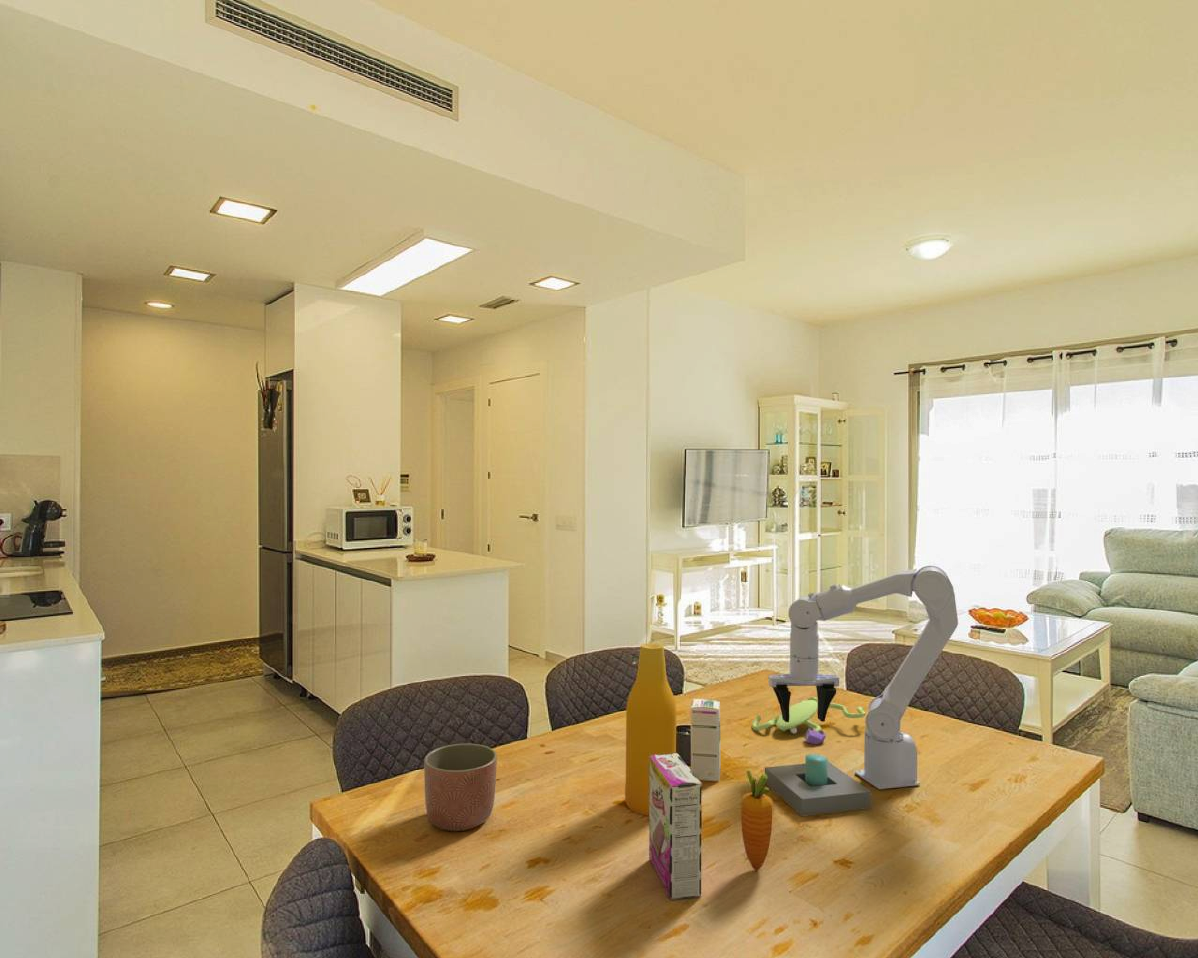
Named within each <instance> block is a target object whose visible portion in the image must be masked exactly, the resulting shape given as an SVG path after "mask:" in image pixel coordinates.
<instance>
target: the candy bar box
mask: <svg viewBox="0 0 1198 958" xmlns="http://www.w3.org/2000/svg"><path fill="white" fill-rule="evenodd" d="M649 762H650V763H649V803H650V808H649V809H650V812H649V817H648V818H649V823H648V825H649V827H648V829H649V833H648V835H649V845H648V846H649V847H648V849H649V850H648V851H649V852H648V853H649V855H648V859H649V861H650V863H651V864H652V867H653V868H654V870H655V872H656V874H657V876H658V877H659V879H660V882H661V883H662V885H663V887H664V890H665V891H666V893H667V895H668V898H669V899H670V901H675V900H682V899H683V900H685V899H690V898H698V897H700V898H701V897H702V795H703V794H702V793H703V792H702V790H703V789H702V787H703V783H702V782H701V780H698V778H697V777H696V776H695V775H694V773H693V772H692V771H691V767H689V766H688V765H687V763H686V762H685V761H684V760H683V758H682V757H681V756H680V755H679V753H677V752H676V753H674V754H661V755H657V754H656V755H651V756H649Z"/></svg>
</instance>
